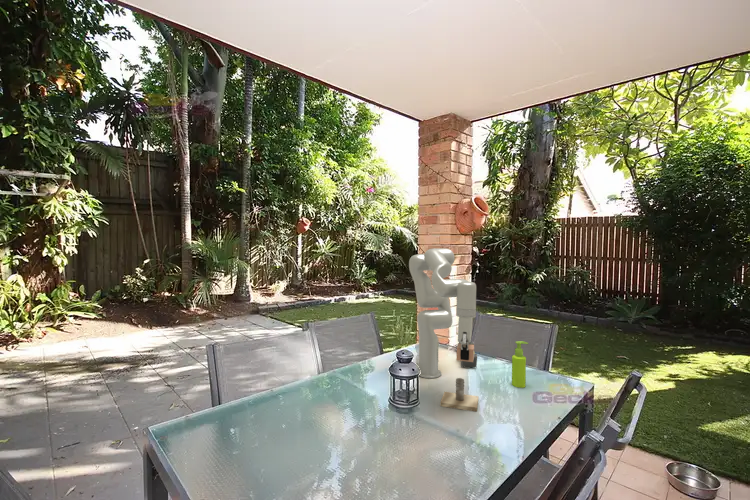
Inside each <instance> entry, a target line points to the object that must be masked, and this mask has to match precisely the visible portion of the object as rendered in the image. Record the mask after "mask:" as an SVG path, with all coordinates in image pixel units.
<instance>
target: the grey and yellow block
mask: <svg viewBox="0 0 750 500" xmlns="http://www.w3.org/2000/svg"><path fill="white" fill-rule="evenodd" d="M458 343H460V344H461V341H460V342H458ZM470 345H474V346H475V342H474V340H473V341H472V340H471V341H470ZM456 347H457V345H456V346H455V350H456V349H457V348H456ZM477 363H478V353H475V352H474V360H473V362H467V361H460V367H461V368H465V367H476V368H477Z"/></svg>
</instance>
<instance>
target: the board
mask: <svg viewBox="0 0 750 500" xmlns="http://www.w3.org/2000/svg"><path fill="white" fill-rule="evenodd" d="M439 405H440V407H444V408H449V409H451V408H452V409H458V410H464V411H470V412H478V407H479V396H478V395H471V394H466V393H465V379H464V378H461V377H457V378H455V392H450V391H444V392H443V395H442V397H441V400H440V403H439Z"/></svg>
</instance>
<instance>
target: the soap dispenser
mask: <svg viewBox="0 0 750 500" xmlns="http://www.w3.org/2000/svg"><path fill="white" fill-rule="evenodd" d="M515 344H516V347H515V348H514V354H513V355H511V386H512V387H514V388H518V389H519V388H522V389H523V388H526V385H527V384H526V378H527V377H526V376H527V375H526V374H527V372H526V371H527V370H526V369H527V363H526V362H527V357H526V356H525V355H524V348H522V345H523V344H524V345H525V344H526V345H529V342H527V341H522V340H520V341H519V340H518V341H515Z"/></svg>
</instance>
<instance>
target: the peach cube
mask: <svg viewBox="0 0 750 500" xmlns="http://www.w3.org/2000/svg"><path fill="white" fill-rule="evenodd" d="M466 345H467V344H466ZM456 346H457V351H456V361H458V362H459V361H460V362H461V361H467V362H473V360H474V353H475V344H474V345H470V344H469V347H468V350H469V360H461V359H460V357H461V344H460V343H459V342H458V343H457V345H456Z"/></svg>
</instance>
